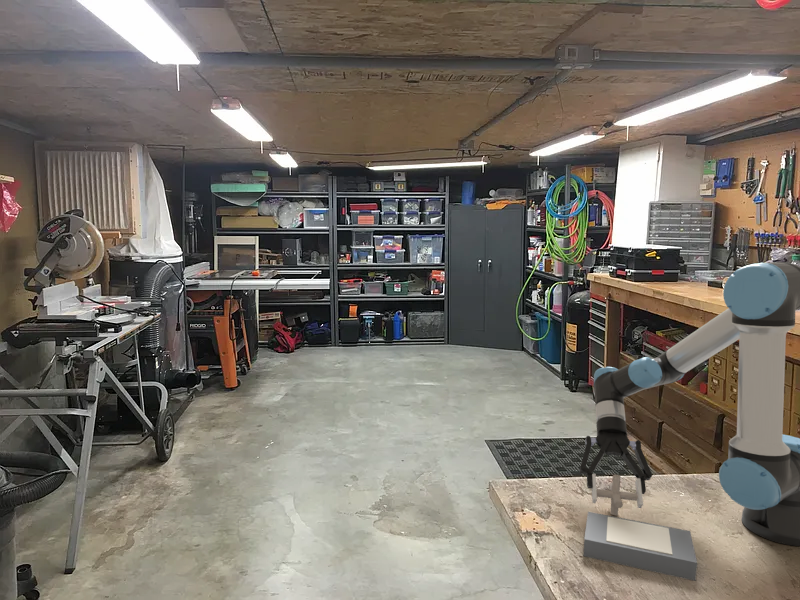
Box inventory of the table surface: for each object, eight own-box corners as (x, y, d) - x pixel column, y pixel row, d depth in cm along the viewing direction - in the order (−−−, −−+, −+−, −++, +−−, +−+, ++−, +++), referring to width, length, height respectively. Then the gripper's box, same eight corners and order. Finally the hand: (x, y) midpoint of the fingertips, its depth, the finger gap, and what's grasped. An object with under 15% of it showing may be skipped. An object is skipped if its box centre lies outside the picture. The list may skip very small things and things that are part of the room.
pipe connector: (639, 526, 134) (642, 487, 133) (596, 521, 136) (598, 483, 135) (631, 506, 144) (633, 469, 143) (590, 501, 146) (593, 465, 145)
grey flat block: (688, 547, 125) (690, 530, 125) (695, 580, 114) (697, 561, 113) (587, 527, 134) (588, 510, 133) (583, 556, 122) (584, 538, 121)
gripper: (652, 430, 151) (662, 513, 137) (566, 423, 155) (568, 503, 142) (658, 418, 145) (670, 504, 131) (569, 411, 149) (571, 493, 136)
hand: (617, 503), depth 137 cm, fingers closed on pipe connector, 10 cm apart
